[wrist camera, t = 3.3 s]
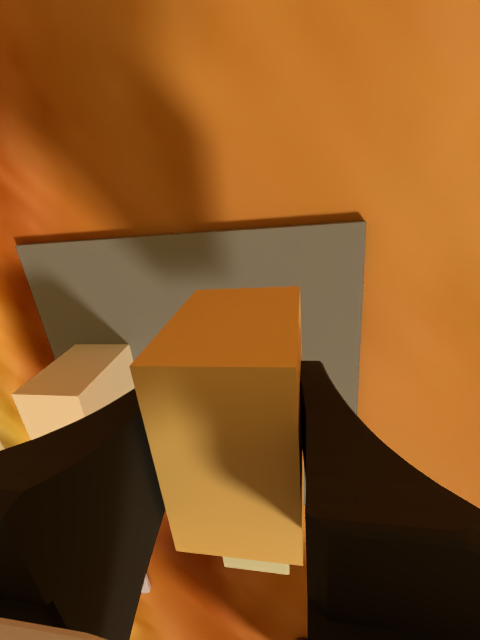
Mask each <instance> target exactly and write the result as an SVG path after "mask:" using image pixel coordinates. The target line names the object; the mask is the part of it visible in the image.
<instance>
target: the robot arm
mask: <svg viewBox="0 0 480 640" xmlns="http://www.w3.org/2000/svg"><path fill="white" fill-rule="evenodd" d="M300 385H301V418H302V450H303V460H304V470H305V480H306V503H305V520H306V556H307V592H308V640H480V509H479V508H478V507H476V506H474V505H473V504H471V503H469V502H468V501H466V500H464V499H462V498H461V497H459V496H457V495H456V494H454V493H452V492H451V491H449V490H447V489H446V488H444V487H442V486H441V485H439V484H438V483H436V482H435V481H433V480H432V479H430V478H429V477H427V476H426V475H424V474H423V473H422V472H420V471H419V470H417V469H416V468H414V467H413V466H412V465H410V464H409V463H408V462H406V461H405V460H404V459H403V458H401V457H400V456H399V455H398V454H396V453H395V452H394V451H393V450H392V449H390V448H389V447H388V446H387V445H386V444H384V443H383V442H382V441H381V440H380V439H379V438H378V437H377V436H376V435H375V434H374V433H373V432H372V431H371V430H370V429H369V428H368V427H367V426H366V425H365V424H364V423H363V422H362V421H361V420H360V418H359V417H358V416H357V415H356V414H355V413H354V411H353V410H352V409H351V408H350V407H349V405H348V404H347V403H346V401H345V400H344V399H343V397H342V396H341V394H340V393H339V392H338V390H337V389H336V387H335V386H334V384H333V383H332V381H331V379H330V377H329V376H328V374H327V372H326V370H325V368H324V365H323V363H322V362H320V361H301V368H300ZM164 512H165V505H164V501H163V497H162V493H161V489H160V485H159V481H158V477H157V474H156V470H155V466H154V462H153V458H152V454H151V450H150V446H149V442H148V438H147V434H146V430H145V426H144V422H143V418H142V414H141V410H140V406H139V403H138V399H137V395H136V391H135V388H134V389H133V390H131V391H129V392H128V393H126V394H125V395H123V396H121V397H120V398H118V399H116V400H115V401H113V402H111V403H110V404H108V405H106V406H105V407H103V408H101V409H99V410H97V411H95V412H94V413H92V414H90V415H88V416H86V417H84V418H82V419H80V420H78V421H75V422H73V423H71V424H69V425H66V426H64V427H62V428H59V429H57V430H55V431H52V432H50V433H48V434H45V435H43V436H41V437H38V438H36V439H33V440H30V441H27V442H25V443H22V444H19V445H16V446H13V447H10V448H7V449H4V450H2V451H0V640H129V639H130V634H131V630H132V626H133V622H134V618H135V614H136V610H137V606H138V602H139V599H140V595H141V593H149V591H150V589H151V585H150V582H149V579H148V576H147V573H146V572H147V569H148V565H149V562H150V558H151V555H152V552H153V548H154V545H155V541H156V538H157V535H158V531H159V528H160V525H161V522H162V519H163V515H164Z"/></svg>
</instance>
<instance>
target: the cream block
mask: <svg viewBox="0 0 480 640" xmlns="http://www.w3.org/2000/svg"><path fill="white" fill-rule="evenodd" d="M132 362H133V358H132V354H131V350H130V346H129V344H75V345H74V346H73V347H71V348H70V349H69V350H68V351H66V352H65V353H64V354H62V355H61V356H60V357H59V358H57V359H56V360H55V361H53V362H52V363H51V364H50V365H48V366H47V367H46V368H44V369H43V370H42V371H41V372H39V373H38V374H37V375H35V376H34V377H33V378H32V379H30V380H29V381H28V382H26V383H25V384H24V385H23V386H21V387H20V388H19V389H18V390H16V391H15V392H14V393H12V397H13V399H14V402H15V404H16V406H17V409H18V411H19V413H20V416H21V418H22V420H23V423H24V425H25V427H26V430H27V432H28V434H29V437H30V439H31V440H33V439H36V438H38V437H41V436H43V435H45V434H48V433H50V432H52V431H55V430H57V429H59V428H62V427H64V426H66V425H69V424H71V423H73V422H75V421H78V420H80V419H82V418H84V417H86V416H88V415H90V414H92V413H94V412H95V411H97V410H99V409H101V408H103V407H105V406H106V405H108V404H110V403H111V402H113V401H115V400H116V399H118V398H120V397H121V396H123V395H125V394H126V393H128V392H129V391H131V390H133V389H134V388H135V387H134V383H133V379H132V375H131V371H130V367H129V366H130V365H131V363H132Z"/></svg>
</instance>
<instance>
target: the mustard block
mask: <svg viewBox="0 0 480 640" xmlns="http://www.w3.org/2000/svg"><path fill="white" fill-rule="evenodd" d="M301 361H302V343H301V306H300V286H289V287H261V288H234V289H206V290H196V291H195V292H194V293H193V294H192V295H191V296H190V297H189V299H188V300H187V301H186V302H185V303H184V304H183V305H182V307H181V308H180V309H179V310H178V311H177V312H176V313H175V315H174V316H173V317H172V318H171V319H170V320H169V321H168V323H167V324H166V325H165V326H164V327H163V328H162V329H161V330H160V332H159V333H158V334H157V335H156V336H155V337H154V338H153V340H152V341H151V342H150V343H149V344H148V345H147V346H146V348H145V349H144V350H143V351H142V352H141V353H140V354H139V356H138V357H137V358H136V359H135V360H134V361H133V362H132V363H131V365H130V366H129V367H130V371H131V375H132V379H133V383H134V387H135V391H136V395H137V399H138V403H139V406H140V410H141V414H142V418H143V422H144V426H145V430H146V434H147V438H148V442H149V446H150V450H151V454H152V458H153V462H154V466H155V470H156V474H157V477H158V481H159V485H160V489H161V493H162V497H163V501H164V505H165V509H166V513H167V517H168V521H169V525H170V529H171V533H172V537H173V541H174V544H175V548H176V551H180V552H189V553H197V554H206V555H214V556H223V557H231V558H240V559H248V560H256V561H265V562H273V563H282V564H290V565H299V566H303V509H304V460H303V450H302V418H301V385H300V368H301Z"/></svg>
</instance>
